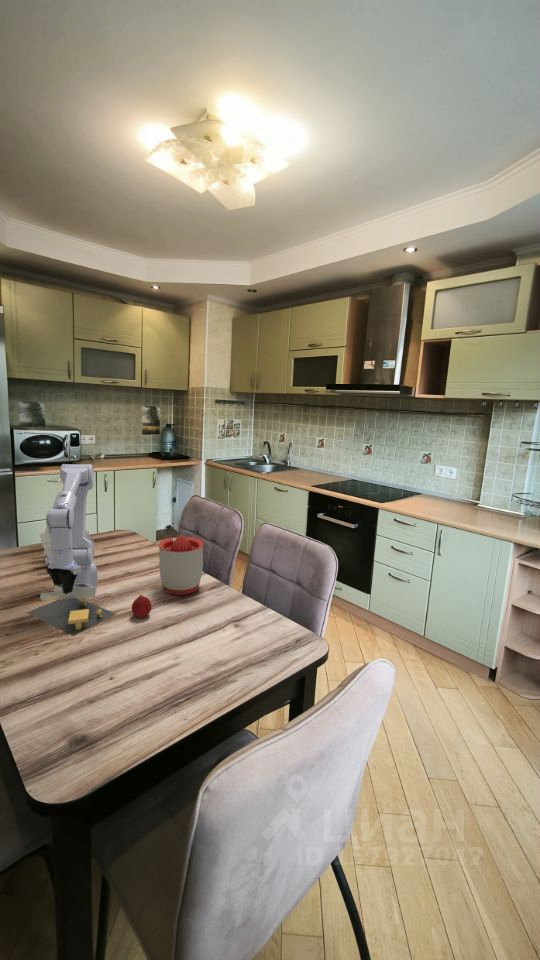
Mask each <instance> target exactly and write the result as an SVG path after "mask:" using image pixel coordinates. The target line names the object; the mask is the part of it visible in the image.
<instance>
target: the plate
mask: <svg viewBox="0 0 540 960" xmlns="http://www.w3.org/2000/svg"><path fill="white" fill-rule="evenodd" d="M85 609H89V616H88V622H82V623H81V624H82V629H81V630H76V628H75V623H74V624H68V620H69V615H70V611H76V610H85ZM97 609H102V617H101V618H97V617H96V610H97ZM26 614H27V615H30V616H31V617H33V618H36V619H38V620H40V621H41V622H44V623H46V624H47V625H49V626H51V627H54V628H56V629H58V630H60V631H62V632H64V633H66V634H68V635H70V636H73V637H74V636H77V635H78V634H81V633H82V632H86V630H88V629H90V628H92V627H95V626H96V625H98V624H100V623H102V622H105V621H107V620H109V619H110V618H113V617H114V616H116V615H117V613H116V612H113V611H111V610H108V609H106V608H103V607H101V606H98V605H96V604H93V603H91V602H89V601H87V600H86V606H85V607H79V599H77V598H69V599H62V600H60V599H59V600H53V601H50V603H47V604H44V605H41V606H39V607H37V608H35V609H31V610H29V611H27V612H26Z"/></svg>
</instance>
